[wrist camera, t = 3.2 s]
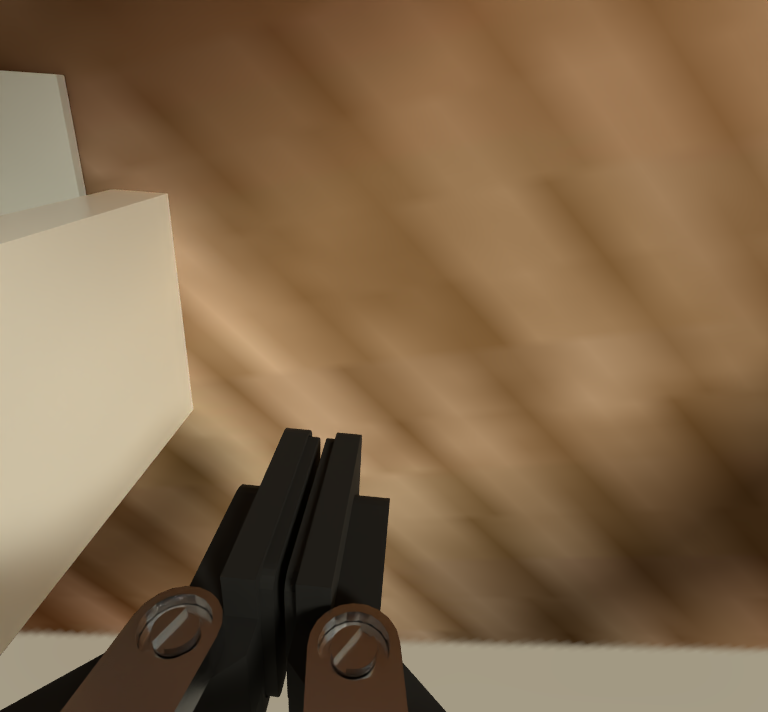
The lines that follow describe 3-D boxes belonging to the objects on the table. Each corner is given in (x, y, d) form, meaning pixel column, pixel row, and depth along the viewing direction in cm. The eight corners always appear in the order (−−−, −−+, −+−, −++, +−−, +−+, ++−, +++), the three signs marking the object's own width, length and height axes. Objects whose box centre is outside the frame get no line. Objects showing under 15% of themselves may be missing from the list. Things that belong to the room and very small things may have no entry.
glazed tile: (167, 193, 18) (-444, 377, 5) (193, 409, 22) (-123, 812, 9) (104, 188, 18) (-645, 358, 5) (141, 404, 22) (-244, 797, 9)
